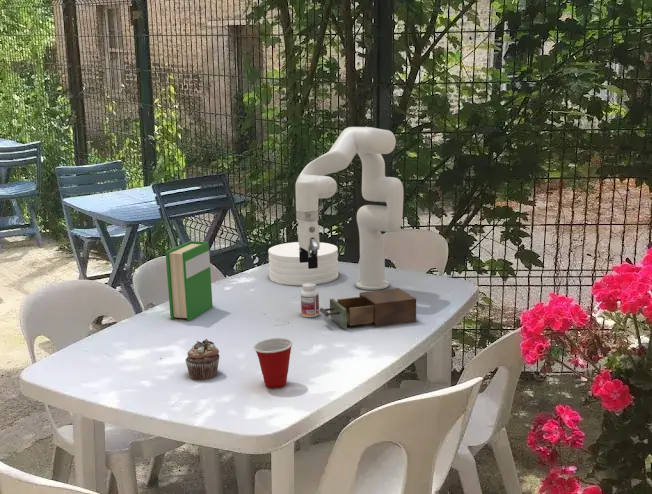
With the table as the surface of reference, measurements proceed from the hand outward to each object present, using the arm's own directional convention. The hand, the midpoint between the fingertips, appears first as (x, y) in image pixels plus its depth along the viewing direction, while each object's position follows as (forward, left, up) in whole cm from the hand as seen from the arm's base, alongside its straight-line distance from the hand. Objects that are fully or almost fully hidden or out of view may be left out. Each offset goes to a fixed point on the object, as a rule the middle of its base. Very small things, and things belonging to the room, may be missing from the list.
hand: (308, 265), depth 292 cm
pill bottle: (0, 0, -18) cm, 18 cm away
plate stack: (-52, +14, -18) cm, 57 cm away
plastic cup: (+58, -29, -18) cm, 67 cm away
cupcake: (+43, -46, -18) cm, 65 cm away
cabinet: (+14, +23, -18) cm, 32 cm away
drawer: (+14, +9, -17) cm, 24 cm away
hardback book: (-19, -38, -18) cm, 46 cm away
